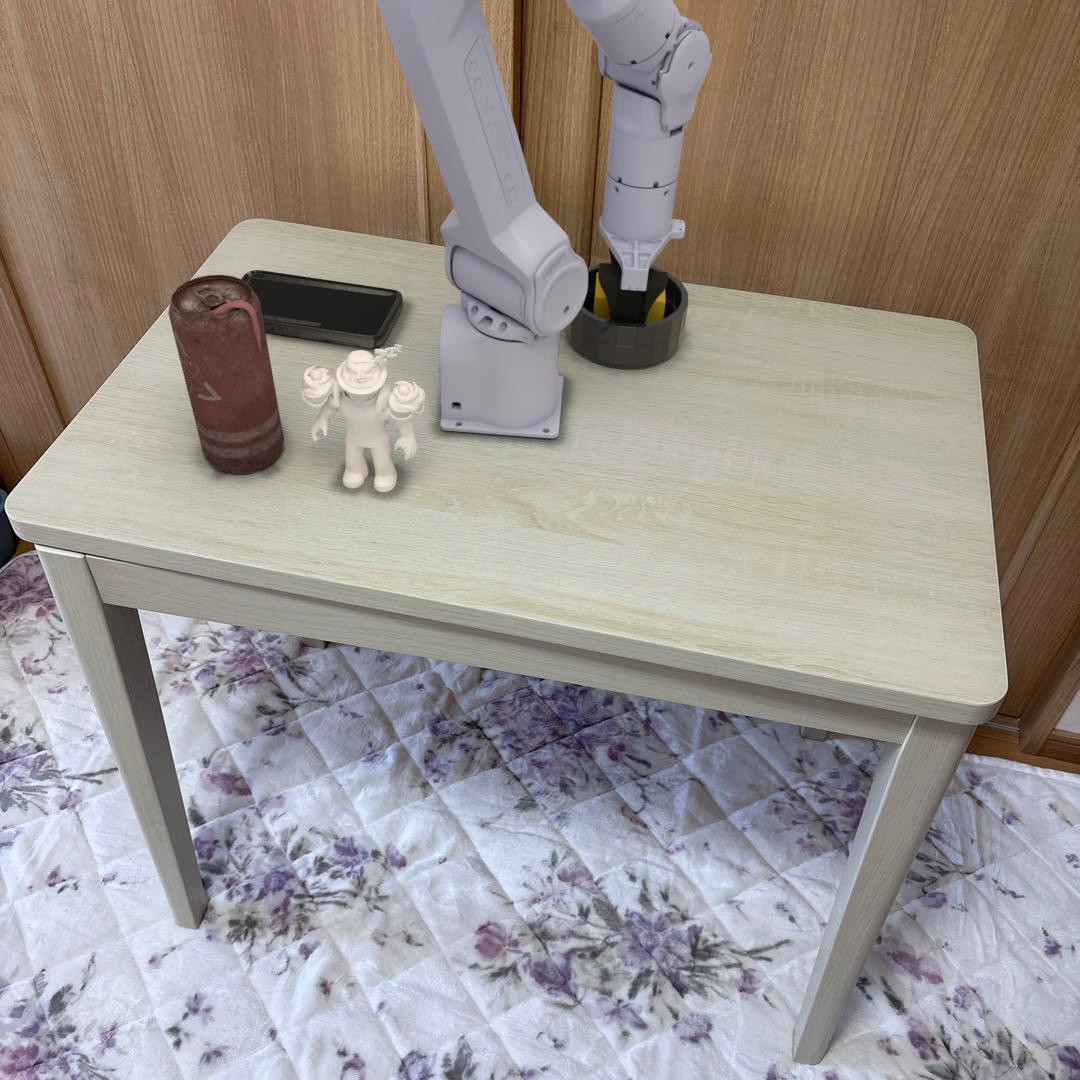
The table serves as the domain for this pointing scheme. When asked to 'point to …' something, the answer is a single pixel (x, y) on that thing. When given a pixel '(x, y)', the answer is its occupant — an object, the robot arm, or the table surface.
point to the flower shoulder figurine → (366, 413)
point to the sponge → (603, 308)
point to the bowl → (629, 330)
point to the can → (227, 372)
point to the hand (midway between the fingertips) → (625, 317)
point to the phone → (325, 308)
